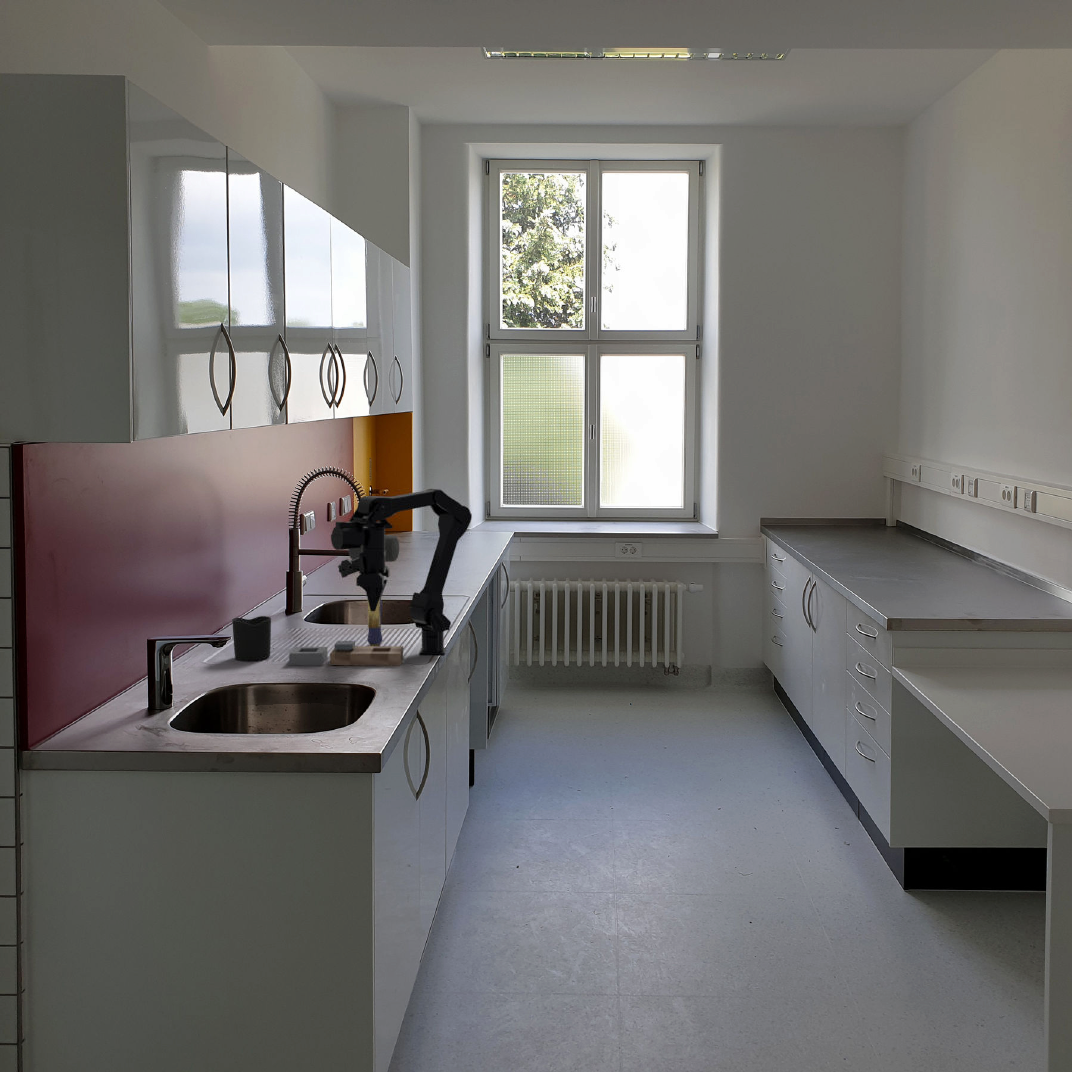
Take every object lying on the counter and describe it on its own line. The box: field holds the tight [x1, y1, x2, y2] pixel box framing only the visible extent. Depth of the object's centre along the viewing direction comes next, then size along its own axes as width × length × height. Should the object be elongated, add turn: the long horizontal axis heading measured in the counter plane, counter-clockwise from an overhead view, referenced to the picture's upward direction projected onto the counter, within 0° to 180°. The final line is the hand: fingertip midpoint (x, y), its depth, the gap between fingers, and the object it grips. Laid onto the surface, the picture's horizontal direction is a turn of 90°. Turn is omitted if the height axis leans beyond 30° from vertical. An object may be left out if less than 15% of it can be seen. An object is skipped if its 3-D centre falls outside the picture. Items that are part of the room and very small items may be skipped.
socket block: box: [329, 645, 404, 667], centre depth 264 cm, size 9×17×3 cm, turn 92°
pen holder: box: [231, 615, 272, 662], centre depth 268 cm, size 9×9×10 cm
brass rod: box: [367, 599, 380, 629], centre depth 263 cm, size 3×3×8 cm
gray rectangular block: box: [334, 640, 356, 651], centre depth 264 cm, size 4×4×5 cm
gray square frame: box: [288, 646, 329, 666], centre depth 264 cm, size 8×8×3 cm
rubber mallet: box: [347, 534, 400, 646], centre depth 283 cm, size 12×8×30 cm, turn 78°
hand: (373, 610), depth 263 cm, fingers closed on brass rod, 3 cm apart
